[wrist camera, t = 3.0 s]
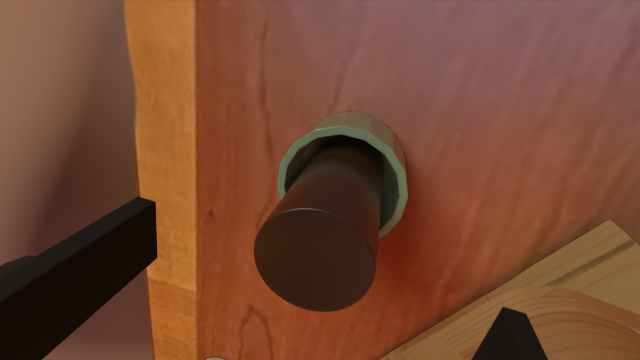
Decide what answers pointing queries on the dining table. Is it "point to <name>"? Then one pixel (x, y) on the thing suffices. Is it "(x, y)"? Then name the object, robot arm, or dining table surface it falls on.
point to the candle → (215, 359)
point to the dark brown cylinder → (326, 229)
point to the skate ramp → (555, 305)
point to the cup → (360, 129)
